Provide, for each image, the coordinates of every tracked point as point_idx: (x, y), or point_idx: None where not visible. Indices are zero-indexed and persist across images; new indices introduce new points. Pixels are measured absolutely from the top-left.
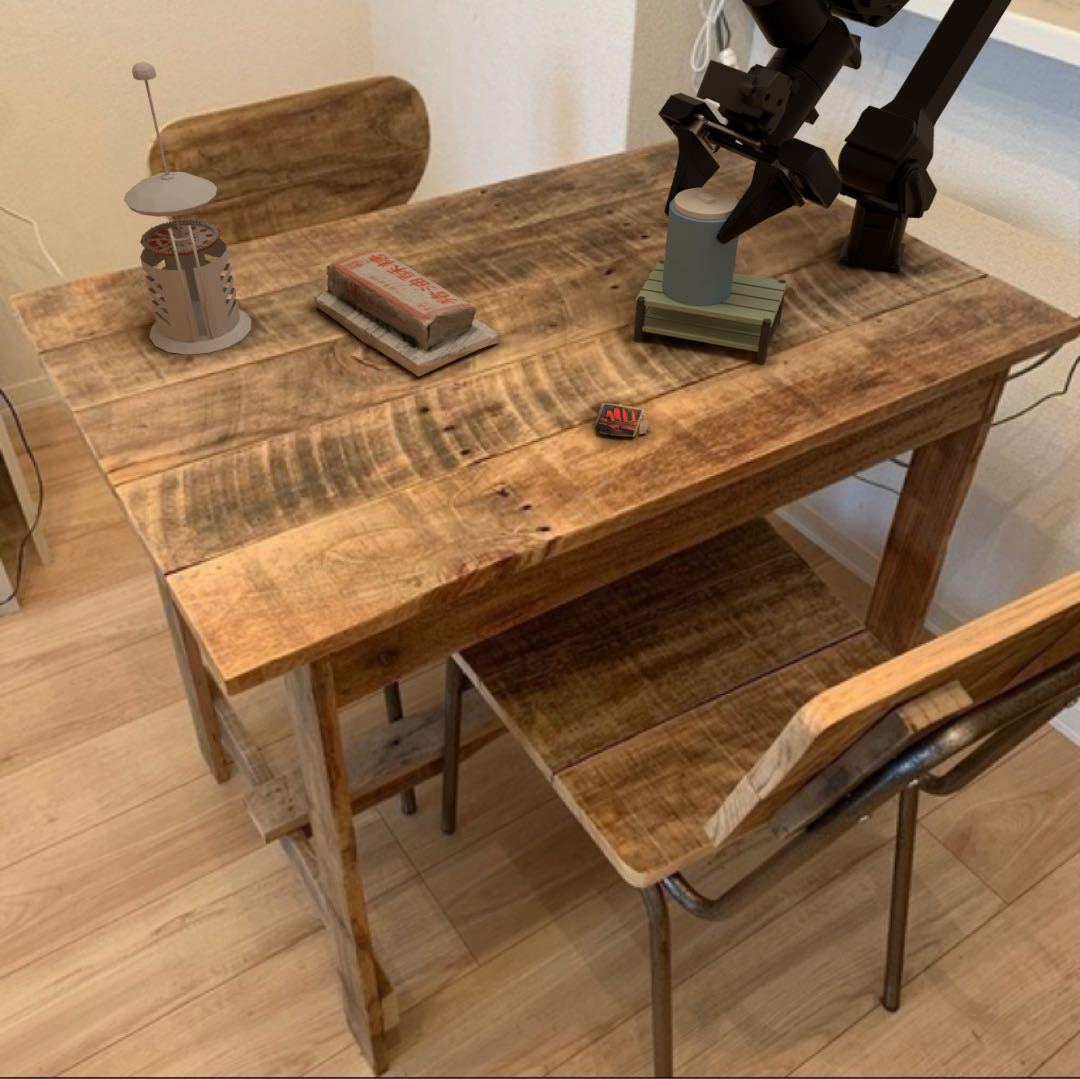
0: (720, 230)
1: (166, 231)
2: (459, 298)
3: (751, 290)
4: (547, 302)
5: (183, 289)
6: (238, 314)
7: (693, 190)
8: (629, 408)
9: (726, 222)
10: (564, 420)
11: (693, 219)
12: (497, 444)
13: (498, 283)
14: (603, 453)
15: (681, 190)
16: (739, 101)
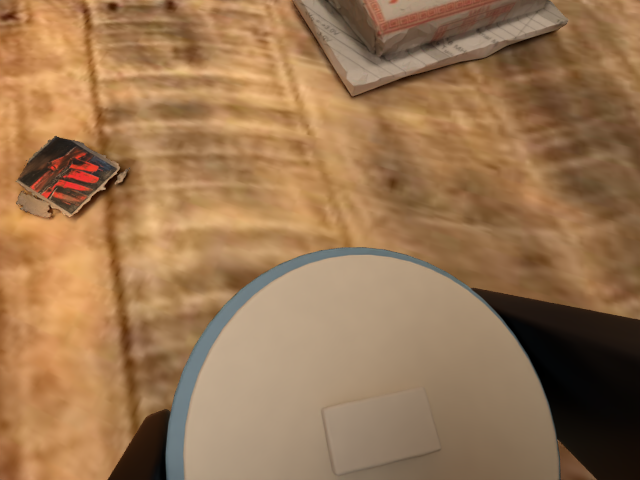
0: (160, 427)
1: None
2: (404, 12)
3: None
4: (471, 198)
5: None
6: None
7: (519, 405)
8: (86, 198)
9: (146, 464)
10: (121, 117)
11: (239, 299)
12: (110, 37)
13: (542, 149)
14: (14, 136)
15: (548, 355)
16: None
